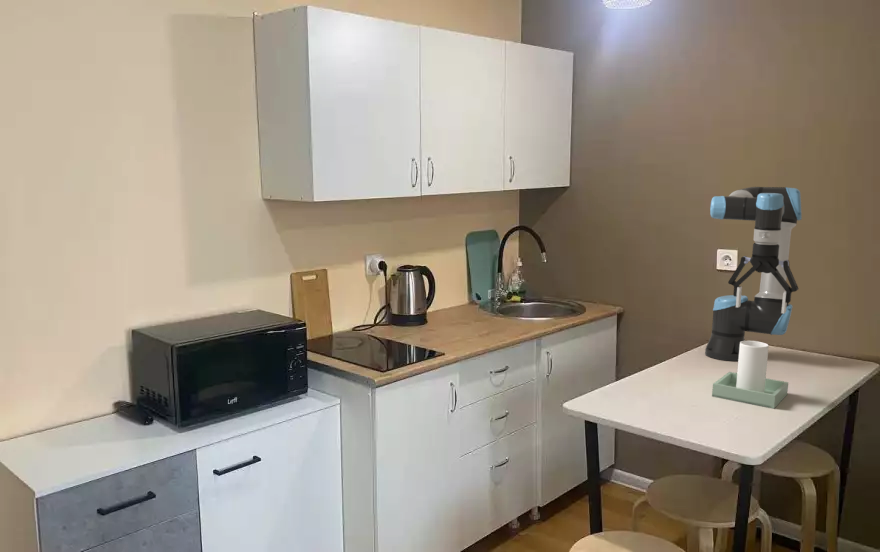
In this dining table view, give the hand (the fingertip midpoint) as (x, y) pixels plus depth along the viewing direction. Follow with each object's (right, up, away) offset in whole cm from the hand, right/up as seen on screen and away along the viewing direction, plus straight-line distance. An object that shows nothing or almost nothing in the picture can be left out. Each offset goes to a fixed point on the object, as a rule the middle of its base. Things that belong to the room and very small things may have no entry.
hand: (760, 309), depth 229 cm
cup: (-4, -26, -2) cm, 27 cm away
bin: (-4, -27, -2) cm, 27 cm away
